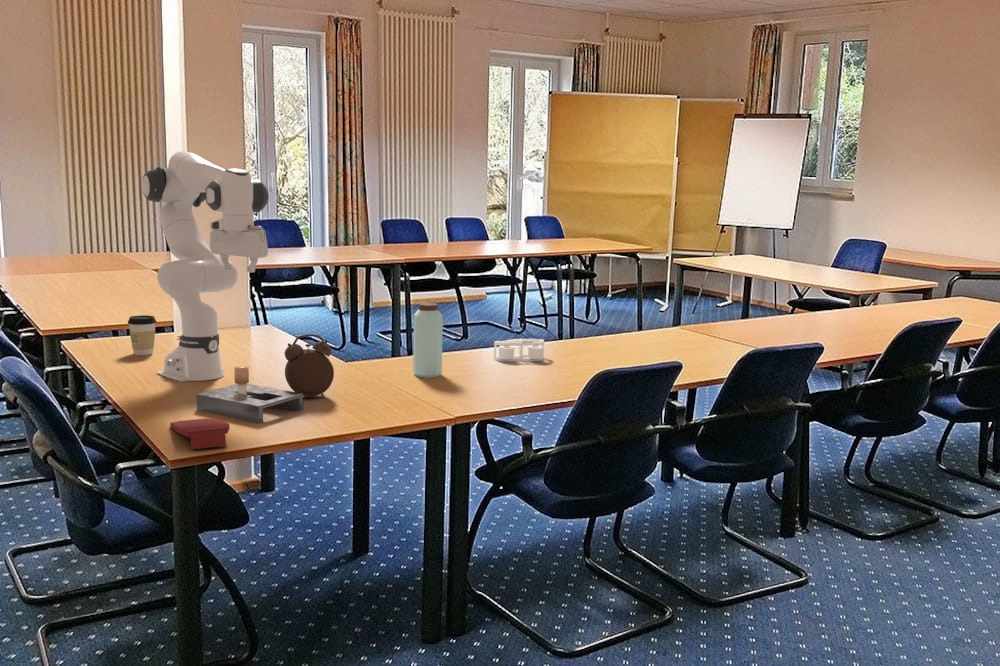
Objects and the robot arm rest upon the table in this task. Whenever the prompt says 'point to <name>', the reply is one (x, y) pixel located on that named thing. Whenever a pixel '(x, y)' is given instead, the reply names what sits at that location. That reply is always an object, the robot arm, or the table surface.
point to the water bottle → (427, 341)
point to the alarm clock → (309, 368)
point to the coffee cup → (142, 334)
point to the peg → (241, 378)
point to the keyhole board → (247, 401)
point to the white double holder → (508, 350)
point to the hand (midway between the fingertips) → (239, 271)
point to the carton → (203, 432)
